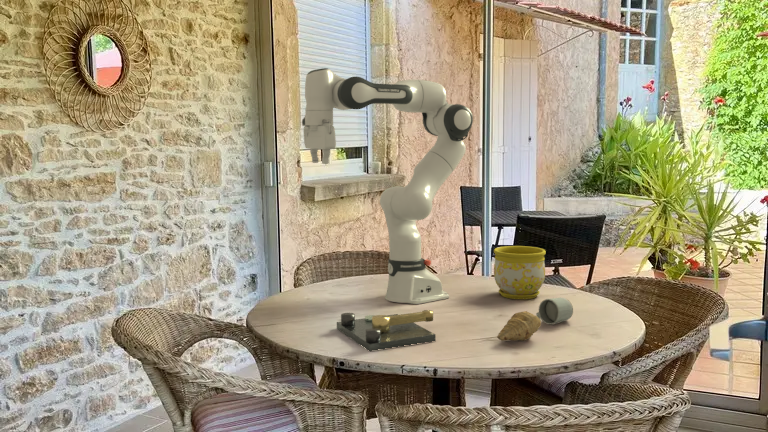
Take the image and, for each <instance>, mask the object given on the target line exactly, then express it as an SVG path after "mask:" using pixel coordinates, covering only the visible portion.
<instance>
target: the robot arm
mask: <svg viewBox="0 0 768 432" xmlns="http://www.w3.org/2000/svg"><path fill="white" fill-rule="evenodd" d="M304 85H305V86H304V98H305V100H306V103H305V104H306V106H305V112H304V113H305V115H304V117H303V118H302V120H301V125H302V127H303V140H304V141H303V143H304V144H303V145H304V147H305V149H310V151H309V152H310V156H311V163H313V164H318V163H319V156H318V152H319V151H318V150H322V151H321V152H322V158H321V164H323V165H328V164H329V162H330V160H329V158H330V155H331V150H335V149H336V147H337V146H336V145H337V139H336V129H335V126H334V109H337V110H341V111H345V110H346V111H347V110H362V109H364V108H366V107H369V106H370V105H374V104H375V105H378V104H379V105H381V104H382V105H393V108H394V109H396V110H397V111H400V112H406V113H414V114H415V113H416V114H417V113H421V116H422V124H423V128H424V130H425V131H426V132H427V133H429V134H430V135H432V136H435V137H436V138H437V139H436V140H435V143H434V145H433V146H432V147H431V148H430V150H428V151H427V153H425V155H424V156H423V157H422V159H421V160H420V161H419V162H418V163H417V164H416V165H415V167H414V169H413V175H412V177H411V179H410V181H409V182H408V184H407V185H405V186H402V185H396V186H391V187H388V188H386V189H385V190H384V191H383V192H382V193H381V194H380V196H379V197H380V198H379V205H380V208H381V210H382V211H383V214H384V217H385V222H386V227H387V231H388V245H389V247H388V249H389V251H388V253H389V254H388V255H389V258H388V260H387V261H388V262H387V264H388V265H387V268H388V269H387V270H388V281H387V283H388V284H387V288H386V292H385V297H384V299H386V300H387V301H389V302H394V303H401V304H412V305H413V304H414V305H419V304H425V303H431V302H434V301H440V300H445V299H449V298H450V295H449V293H448V292H447V291H444V290H443V284H442V281H441V279H440V278H439V277H438V276H436V275H435V274H434V273H432V272H431V271H430V270H429V269H427V267H428V266H429V267H430V266H431V265H432V261H431V260H430V259H428V258H427V259H424V258H422V235H421V233H420V232H419V230H418V227H417V223H416V222H417V221H421V220H425V219H426V218H428V217H429V216H430V214H431V212H432V211H433V200H434V198H435V196H436V194H437V192H438V191H439V190H440V188H441V187H442V186H443V184H444V183H445V182H446V180H447V179H448V178H450V176H451V174H452V173H454V171H455V169H456V168H457V167H458V165H459V164H460V162H461V161H462V159H463V158H464V155H465V153H466V151H467V147H466V145H465V143H464V140H466V139H467V138H468V135H469V132H470V130H471V129H472V127H473V123H474V115H473V113H472V111H471V109H470V108H469V107H467V106H466V105H463V104H459V103H456V104H455V103H454V104H451V103H450V104H449V102H448V101H447V92H446V88H445V86H444V85H442V84H441V83H439V82H435V81H432V80H431V81H430V80H424V79H404V80H399V81H396V82H395V83H394V84H392V83H374V82H371V81H369V80H367V79H365V78H363V77H361V76H350V77H348V78H344V77H342V76H339V75H337V74H336V73H334V72H333V71H332V70H331V69H330V68H326V67H324V68H323V67H322V68H317V69H313V70H311V71H309V72H307V74H306V76H305V83H304Z"/></svg>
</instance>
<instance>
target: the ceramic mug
mask: <svg viewBox="0 0 768 432" xmlns="http://www.w3.org/2000/svg"><path fill="white" fill-rule="evenodd" d="M573 314H574V308H573V305H572V303H571V301H570V300H569V299H567V298H565V297H555V298H554V297H553V298H546V299H544V300H542V301H540V304H539V306H538V311H537V312H536V313H535V316H537V317H538V318H539V319H540V320H541V321H542V322H543V323H544V324H547V325H551V326H552V325H555V324H559V323H563V322H566V321H569V320H570V319H571V317H573Z"/></svg>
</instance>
